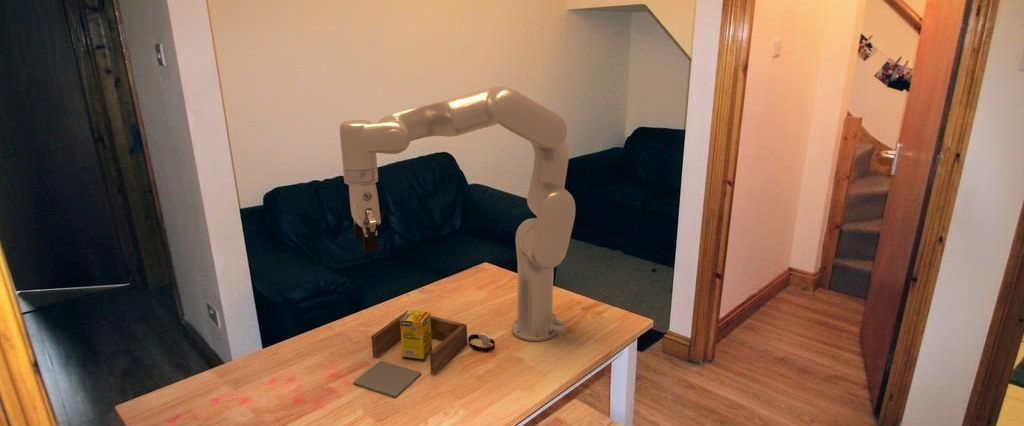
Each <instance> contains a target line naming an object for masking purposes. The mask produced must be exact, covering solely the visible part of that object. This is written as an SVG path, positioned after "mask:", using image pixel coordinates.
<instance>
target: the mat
mask: <svg viewBox="0 0 1024 426" xmlns="http://www.w3.org/2000/svg"><path fill="white" fill-rule="evenodd" d="M421 376H422V372H421V371H418V370H414V369H411V368H407V367H405V366H401V365H397V364H394V363H391V362H387V361H384V360H379V361H378V362H377V363H375V364H374V365H373V366H372V367H370V368H369V369H368V370H367V371H365V372H364V373H363V374H361V375H360V376H359V377H358V378H356V379H355V380H354V381H352V385H353V386H356V387H360V388H363V389H366V390H369V391H372V392H375V393H379V394H380V395H384V396H387V397H389V398H392V399H397V398H398V397H399V396H400V395H401V394H402V393H403V392H404V391H406V389H408V388H409V387H411V385H412V384H413V383H414V382H415V381H417V380H418V378H420V377H421Z"/></svg>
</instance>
